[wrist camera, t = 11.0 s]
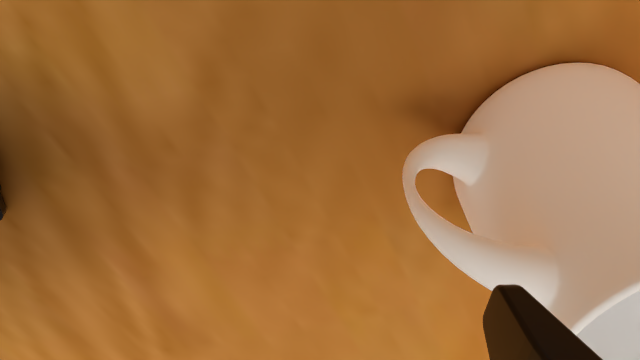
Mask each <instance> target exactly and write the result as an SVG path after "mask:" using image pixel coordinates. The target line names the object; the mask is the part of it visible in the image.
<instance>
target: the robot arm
mask: <svg viewBox="0 0 640 360" xmlns="http://www.w3.org/2000/svg"><path fill="white" fill-rule="evenodd" d="M0 190H1V186H0ZM5 213H6V206H5V204H4V201H3V198H2V196H1V193H0V220H2V218H3V216H4V214H5ZM483 329H484V334H485V338H486V343H487V348H488V352H489V357H490V360H603V359H602V358H601V357H599V356H598V355H597V354H596V353H595V352H594V351H593V350H592V349H591V348H590V347H588V346H587V345H586V344H585V343H584V342H583V341H582V340H581V339H580V338H578V337H577V336H576V335H575V334H574V333H573V332H572V331H571V330H570V329H569V328H567V327H566V326H565V325H564V324H563V323H562V322H561V321H560V320H559V319H557V318H556V317H555V316H554V315H553V314H552V313H551V312H550V311H549V310H547V309H546V308H545V307H544V306H543V305H542V304H541V303H540V302H539V301H538V300H536V299H535V298H534V297H533V296H532V295H531V294H530V293H529V292H528V291H526V290H525V289H524V288H523V287H521V286H520V285H515V284H510V285H497V286H496V287H494V289H493V291H492V294H491V296H490V299H489V301H488V304H487V307H486V309H485V312H484V315H483Z"/></svg>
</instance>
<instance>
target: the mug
mask: <svg viewBox="0 0 640 360" xmlns="http://www.w3.org/2000/svg"><path fill="white" fill-rule="evenodd" d="M422 169H437V170H441V171H443V172H446V173H448V174H450V175H452V176H453V180H454V186H455V190H456V193H457V196H458V199H459V201H460V204H461V206H462V209H463V211H464V214H465V216H466V218H467V221H468V223H469V225H470V228H471V230H472V232H473V233H470V232H468V231H466V230H464V229H462V228H460V227H457V226H455V225H453V224H452V223H450V222H449V221H447V220H445V219H444V218H442V217H441V216H439V215H438V214H437V213H436V212H434V211H433V210H432V209H431V208H430V207H429V206H428V205H427V204H426V203H425V202H424V201H423V200H422V199H421V197H420V195H419V194H418V192H417V190H416V186H415V178H416V175H417V173H418V172H419V171H420V170H422ZM402 179H403V188H404V192H405V196H406V199H407V202H408V205H409V207H410V210H411V212H412V214H413V216H414V218H415V220H416V221H417V223H418V225H419V227H420V228H421V229H422V231H423V232H424V233H425V235H426V236H427V237H428V239H429V240H430V241H431V242H432V243H433V244H434V246H435V247H436V248H437V249H438V250H439V251H440V252H441V253H442V254H443V255H444V256H445V257H446V258H447V259H448V260H449V261H451V262H452V263H453V264H454V265H455V266H456V267H457V268H459V269H460V270H461V271H463V272H464V273H465V274H467V275H468V276H469V277H471V278H472V279H474V280H475V281H477V282H478V283H480V284H481V285H483V286H485V287H486V288H488V289H489V290H491V291H493V289H494V287H496V286H497V285H510V284H515V285H520V286H521V287H523V288H524V289H525V290H526V291H528V292H529V293H530V294H531V295H532V296H533V297H534V298H535V299H536V300H538V301H539V302H540V303H541V304H542V305H543V306H544V307H545V308H546V309H547V310H549V311H550V312H551V313H552V314H553V315H554V316H555V317H556V318H557V319H559V320H560V321H561V322H562V323H563V324H564V325H565V326H566V327H567V328H569V329H570V330H571V331H572V332H573V333H574V334H575V335H576V336H577V337H578V338H580V339H581V340H582V341H583V342H584V343H585V344H586V345H587V346H588V347H590V348H591V349H592V350H593V351H594V352H595V353H596V354H597V355H598V356H599V357H601V358H602V359H603V360H640V84H639V83H638V82H636V81H635V80H634V79H632V78H631V77H629V76H627V75H625V74H623V73H622V72H619V71H617V70H615V69H612V68H609V67H607V66H604V65H598V64H593V63H564V64H557V65H552V66H547V67H544V68H540V69H537V70H534V71H532V72H529V73H527V74H525V75H522V76H520V77H518V78H516V79H515V80H513V81H511V82H509V83H507V84H506V85H505V86H503V87H502V88H500V89H499V90H497V91H496V92H495V93H494V94H492V95H491V96H490V97H489V98H488V99H486V100H485V101H484V102H483V104H482V105H481V106H480V107H479V108H478V109H477V110H476V111H475V112H474V114H473V115H472V116H471V118H470V119H469V120H468V122H467V124H466V125H465V127H464V129H463V130H462V132H461V134H447V135H442V136H437V137H434V138H431V139H429V140H426V141H424V142H423V143H421V144H419V145H418V146H417V147H415V148H414V149H413V150H412V151H411V152H410V154H409V155H408V157H407V158H406V160H405V163H404V167H403V175H402Z"/></svg>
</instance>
